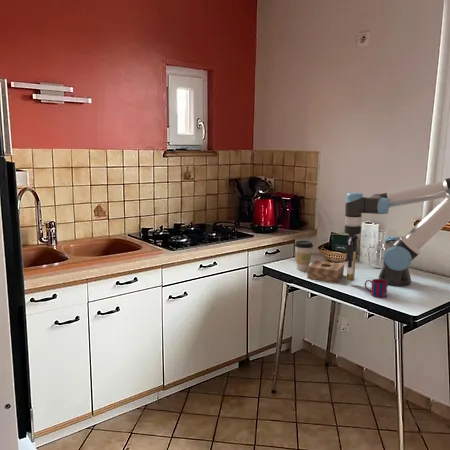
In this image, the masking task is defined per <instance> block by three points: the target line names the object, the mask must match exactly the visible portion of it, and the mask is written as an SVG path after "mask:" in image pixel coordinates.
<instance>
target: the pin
mask: <svg viewBox="0 0 450 450" xmlns="http://www.w3.org/2000/svg"><path fill="white" fill-rule="evenodd" d="M355 273H356V258H355V251H354V252H353V274H347V273H346V281H349V282H351V281H352V282H354V281H355Z"/></svg>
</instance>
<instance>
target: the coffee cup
mask: <svg viewBox="0 0 450 450" xmlns="http://www.w3.org/2000/svg"><path fill="white" fill-rule="evenodd" d="M313 247H314V245H313V242H312V241H309V240H297V241H295V243H294V248H295V261H296V262H295V263H296V270H297V271H300V272H306V271H307V272H308V266H309V265H311V258H312V251H313Z"/></svg>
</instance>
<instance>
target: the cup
mask: <svg viewBox="0 0 450 450" xmlns="http://www.w3.org/2000/svg"><path fill="white" fill-rule="evenodd" d="M367 282H368V283H369V282H370V283H371V289H370V288H368V287H367ZM388 286H389V285H388V282H387V281H386V280H382V279H379V278H376V279H375V278H374V279H372V280H370V279H367V280H366V281H365V282H364V287H365V290H366V291H368V292H369V293H371V294H370V295H371V297H374V298H377V299H385V298H387V295H388V294H387V293H388Z"/></svg>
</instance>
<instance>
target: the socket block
mask: <svg viewBox="0 0 450 450" xmlns="http://www.w3.org/2000/svg"><path fill="white" fill-rule="evenodd" d="M344 269H345V264H343V263H337V262H330V261H325V260H317V259H316V260H314V261H313V262H312V263H310V264H309V266H308V271H307V275H306V276H307V277H306V278H307V279H310V280H311V279H312V280H318V281H323V280H324V282H330V281H331V283H338V282H339V281H340V279H342V278H343V276H344V273H345V272H344V271H345V270H344Z"/></svg>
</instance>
